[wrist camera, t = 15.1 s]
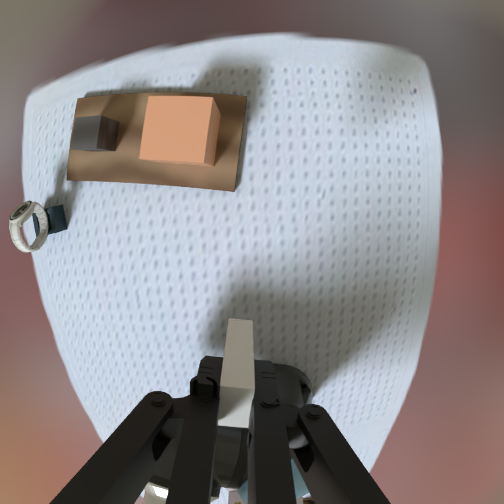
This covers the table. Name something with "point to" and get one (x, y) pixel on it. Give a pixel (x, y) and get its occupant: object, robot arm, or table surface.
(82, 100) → the post board
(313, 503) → the vessel
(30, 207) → the watch
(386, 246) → the table surface
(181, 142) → the peach cube
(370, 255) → the table surface
